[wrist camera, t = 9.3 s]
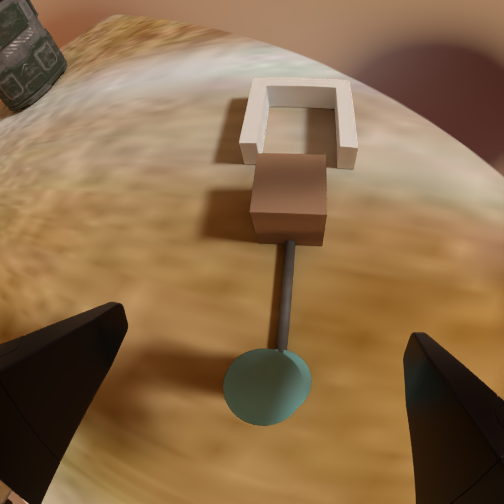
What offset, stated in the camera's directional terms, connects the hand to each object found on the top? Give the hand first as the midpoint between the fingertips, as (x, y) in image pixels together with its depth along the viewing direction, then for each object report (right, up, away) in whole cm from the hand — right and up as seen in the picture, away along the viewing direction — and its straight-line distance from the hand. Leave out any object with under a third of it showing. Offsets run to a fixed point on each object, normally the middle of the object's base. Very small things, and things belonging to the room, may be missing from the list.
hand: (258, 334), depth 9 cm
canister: (-45, +37, +37) cm, 69 cm away
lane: (+5, +15, +20) cm, 26 cm away
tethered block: (+2, -1, +14) cm, 14 cm away
